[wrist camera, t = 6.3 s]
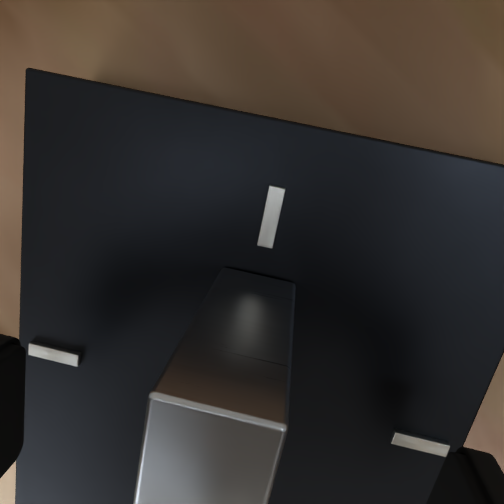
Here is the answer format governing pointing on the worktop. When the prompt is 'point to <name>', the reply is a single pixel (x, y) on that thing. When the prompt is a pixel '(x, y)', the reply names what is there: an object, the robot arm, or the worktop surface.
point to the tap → (222, 398)
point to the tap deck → (256, 262)
